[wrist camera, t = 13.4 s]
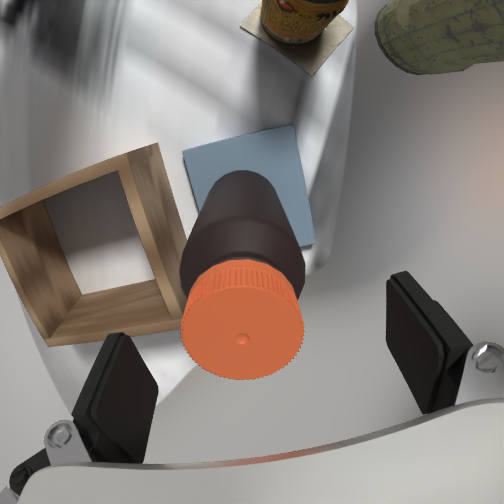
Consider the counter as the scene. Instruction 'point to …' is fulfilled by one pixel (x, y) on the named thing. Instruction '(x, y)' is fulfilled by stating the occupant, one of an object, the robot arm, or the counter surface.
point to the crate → (60, 276)
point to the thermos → (441, 34)
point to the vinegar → (242, 281)
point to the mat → (257, 171)
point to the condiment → (300, 28)
